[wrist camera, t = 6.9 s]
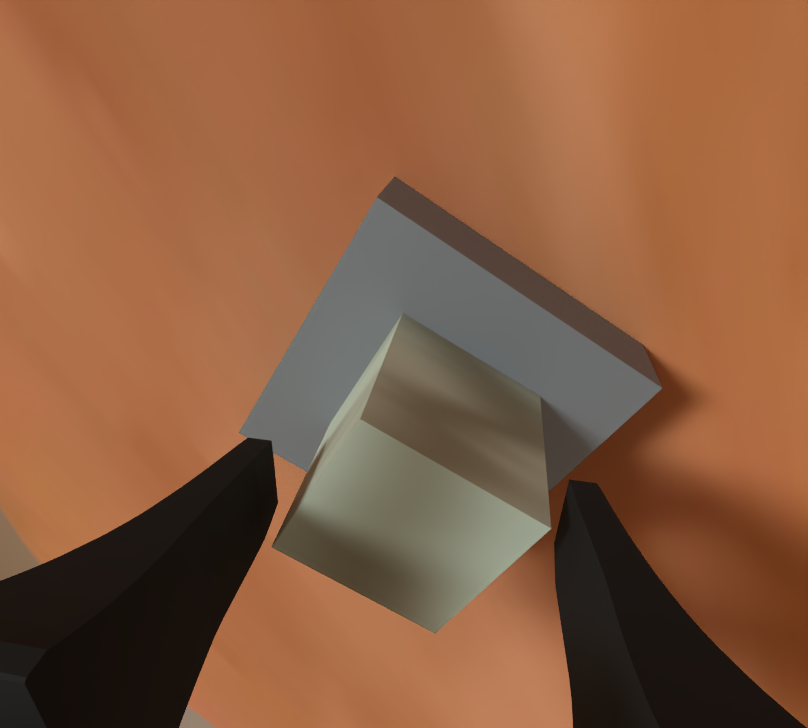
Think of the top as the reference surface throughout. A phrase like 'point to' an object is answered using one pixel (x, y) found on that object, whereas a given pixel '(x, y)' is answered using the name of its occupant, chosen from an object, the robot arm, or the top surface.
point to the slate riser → (452, 334)
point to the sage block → (423, 480)
